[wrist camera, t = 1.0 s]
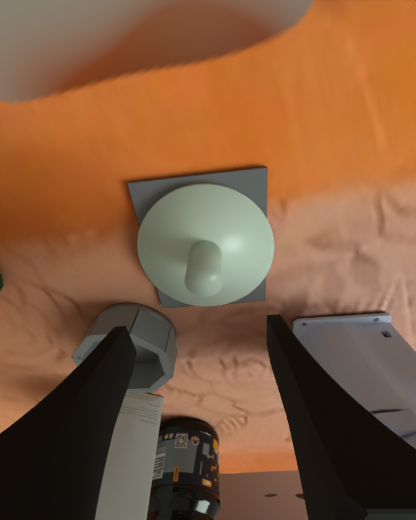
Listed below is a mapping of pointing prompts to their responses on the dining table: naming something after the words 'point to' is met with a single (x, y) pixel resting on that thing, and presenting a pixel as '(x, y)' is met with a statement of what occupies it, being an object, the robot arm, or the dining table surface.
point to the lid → (205, 244)
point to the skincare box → (131, 459)
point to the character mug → (1, 282)
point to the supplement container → (185, 472)
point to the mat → (242, 180)
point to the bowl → (137, 343)
